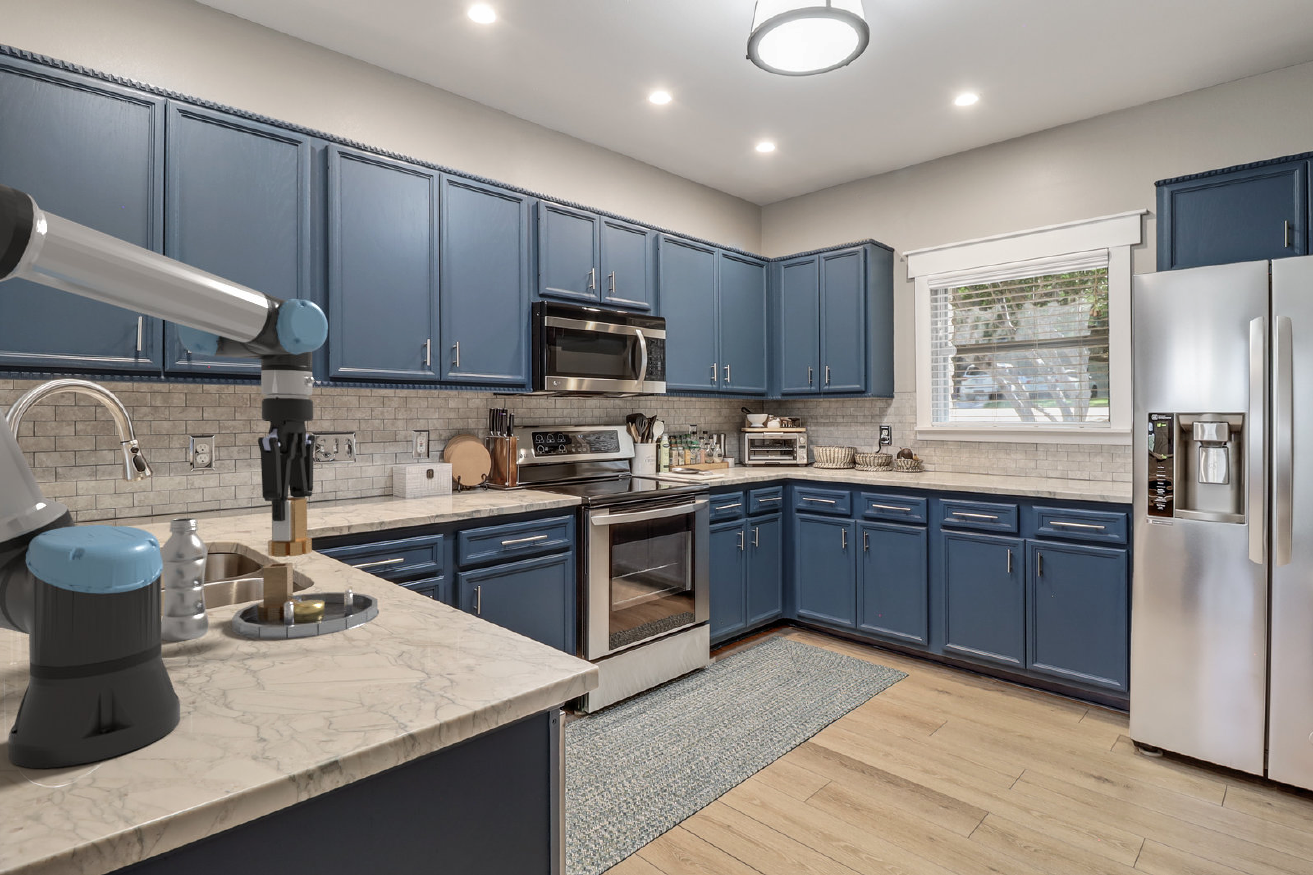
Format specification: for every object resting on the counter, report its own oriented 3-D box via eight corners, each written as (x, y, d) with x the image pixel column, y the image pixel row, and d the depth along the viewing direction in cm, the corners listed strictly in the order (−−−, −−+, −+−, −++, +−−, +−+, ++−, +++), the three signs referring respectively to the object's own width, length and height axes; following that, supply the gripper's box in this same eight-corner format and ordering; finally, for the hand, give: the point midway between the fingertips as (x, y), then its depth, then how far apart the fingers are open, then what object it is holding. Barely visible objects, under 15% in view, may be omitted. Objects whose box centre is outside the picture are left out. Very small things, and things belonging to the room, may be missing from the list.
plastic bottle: (169, 652, 106) (168, 523, 106) (154, 643, 111) (152, 519, 110) (215, 641, 112) (214, 519, 111) (199, 633, 116) (198, 515, 115)
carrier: (344, 646, 110) (343, 610, 109) (200, 645, 110) (200, 608, 109) (398, 607, 133) (398, 577, 132) (279, 606, 133) (279, 576, 132)
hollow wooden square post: (298, 556, 111) (298, 501, 111) (260, 556, 111) (260, 501, 111) (317, 549, 117) (317, 497, 117) (281, 549, 117) (281, 497, 117)
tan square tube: (293, 618, 121) (292, 568, 120) (253, 621, 119) (253, 569, 119) (301, 609, 126) (301, 561, 126) (264, 611, 125) (264, 562, 125)
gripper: (282, 396, 105) (284, 547, 106) (334, 398, 122) (336, 529, 123) (233, 395, 105) (235, 547, 106) (292, 398, 122) (294, 529, 123)
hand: (289, 537), depth 114 cm, fingers closed on hollow wooden square post, 4 cm apart
